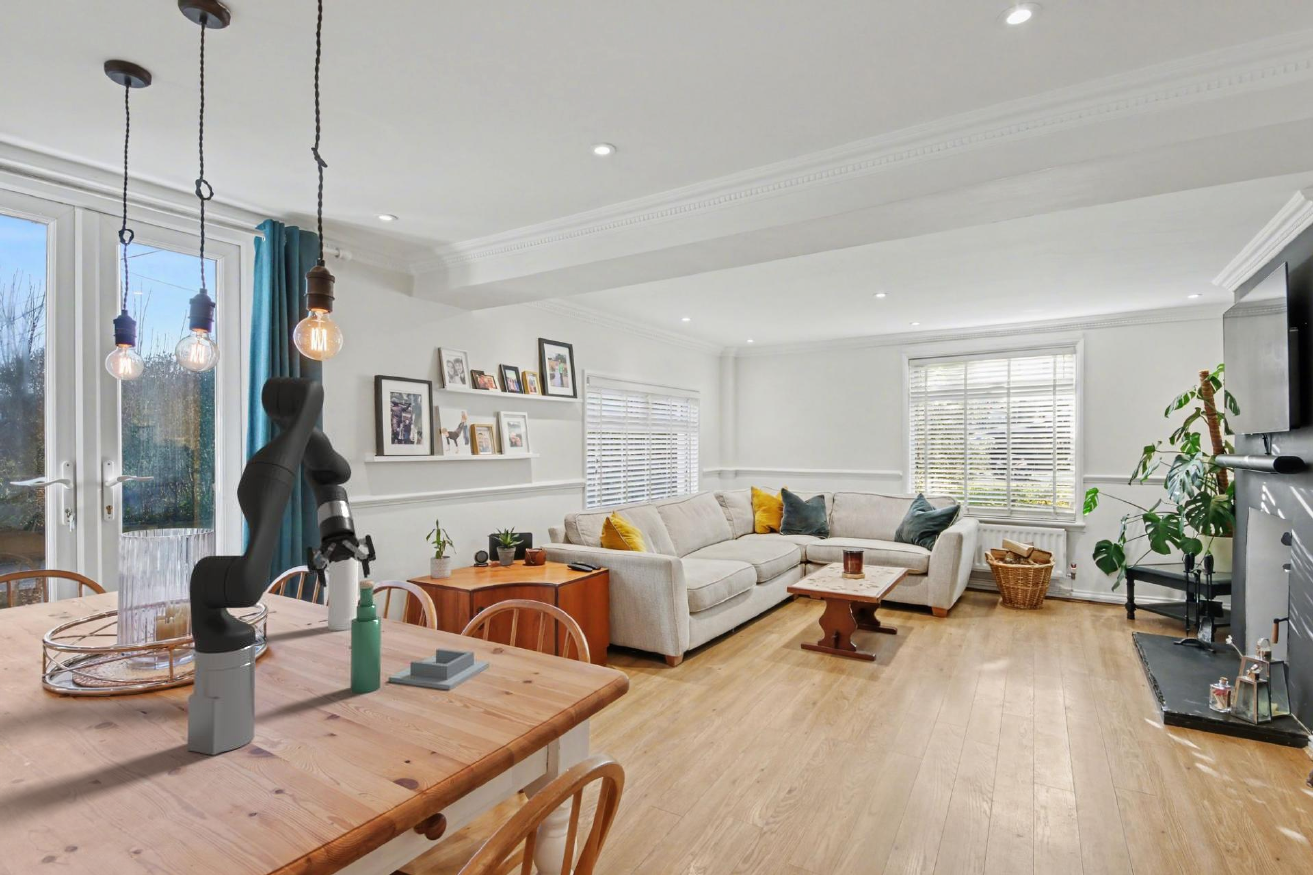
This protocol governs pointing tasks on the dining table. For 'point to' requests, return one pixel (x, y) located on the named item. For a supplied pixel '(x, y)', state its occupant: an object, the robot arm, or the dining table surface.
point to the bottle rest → (441, 670)
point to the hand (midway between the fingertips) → (345, 580)
